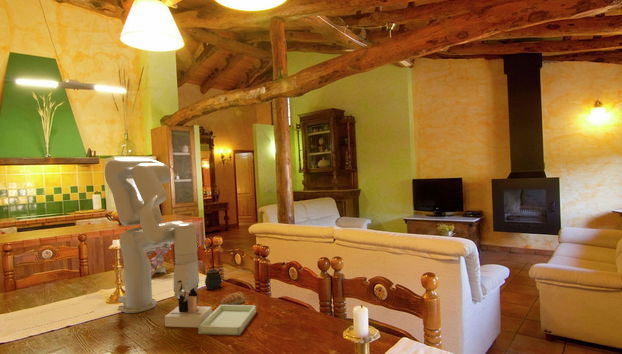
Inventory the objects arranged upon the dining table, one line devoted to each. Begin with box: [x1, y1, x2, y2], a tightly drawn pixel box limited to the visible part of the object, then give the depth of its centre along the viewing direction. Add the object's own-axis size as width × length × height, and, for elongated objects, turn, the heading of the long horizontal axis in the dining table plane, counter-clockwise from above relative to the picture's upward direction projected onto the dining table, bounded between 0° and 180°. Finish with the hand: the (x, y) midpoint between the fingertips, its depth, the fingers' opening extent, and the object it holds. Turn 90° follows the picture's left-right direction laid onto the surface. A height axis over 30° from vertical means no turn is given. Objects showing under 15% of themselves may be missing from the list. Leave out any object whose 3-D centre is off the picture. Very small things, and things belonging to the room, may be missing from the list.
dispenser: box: [164, 305, 213, 328], centre depth 123 cm, size 13×9×4 cm
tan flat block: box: [185, 295, 198, 313], centre depth 123 cm, size 5×2×8 cm, turn 82°
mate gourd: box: [204, 268, 222, 290], centre depth 157 cm, size 7×8×10 cm
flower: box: [144, 242, 174, 277], centre depth 180 cm, size 20×22×25 cm
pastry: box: [219, 291, 246, 306], centre depth 138 cm, size 9×7×4 cm
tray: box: [197, 304, 257, 336], centre depth 120 cm, size 14×18×2 cm
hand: (188, 307), depth 123 cm, fingers open, 6 cm apart
